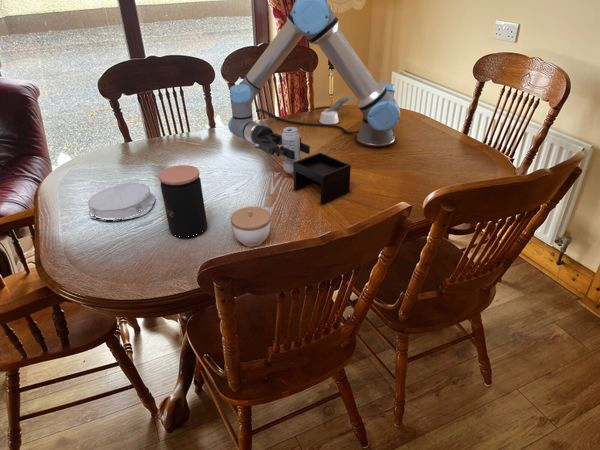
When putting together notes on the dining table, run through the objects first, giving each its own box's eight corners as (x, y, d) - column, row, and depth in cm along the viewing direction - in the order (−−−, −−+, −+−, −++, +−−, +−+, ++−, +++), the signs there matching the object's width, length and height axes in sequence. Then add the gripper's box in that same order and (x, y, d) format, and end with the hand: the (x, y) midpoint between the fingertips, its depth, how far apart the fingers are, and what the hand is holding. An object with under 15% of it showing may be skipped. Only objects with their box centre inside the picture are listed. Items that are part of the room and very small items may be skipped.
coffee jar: (173, 221, 134) (162, 165, 125) (209, 219, 135) (201, 163, 125) (167, 241, 125) (155, 183, 116) (206, 238, 126) (197, 181, 116)
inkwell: (315, 120, 207) (315, 98, 202) (346, 113, 215) (347, 92, 209) (326, 126, 200) (326, 103, 195) (358, 118, 208) (359, 97, 203)
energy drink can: (304, 170, 157) (303, 129, 149) (292, 176, 153) (290, 134, 145) (291, 165, 161) (290, 125, 153) (279, 171, 157) (277, 129, 149)
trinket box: (277, 233, 127) (276, 204, 122) (262, 254, 119) (260, 224, 114) (243, 227, 130) (240, 199, 125) (226, 247, 122) (222, 218, 117)
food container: (118, 230, 130) (112, 210, 126) (75, 213, 139) (69, 193, 136) (169, 201, 144) (165, 182, 141) (127, 187, 153) (122, 168, 150)
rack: (293, 189, 150) (293, 162, 144) (320, 178, 156) (320, 152, 151) (323, 204, 141) (323, 176, 136) (349, 192, 147) (350, 165, 142)
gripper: (279, 137, 171) (321, 155, 157) (238, 151, 161) (279, 171, 146) (278, 118, 167) (322, 134, 152) (236, 131, 157) (278, 150, 142)
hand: (301, 152), depth 149 cm, fingers closed on energy drink can, 6 cm apart
